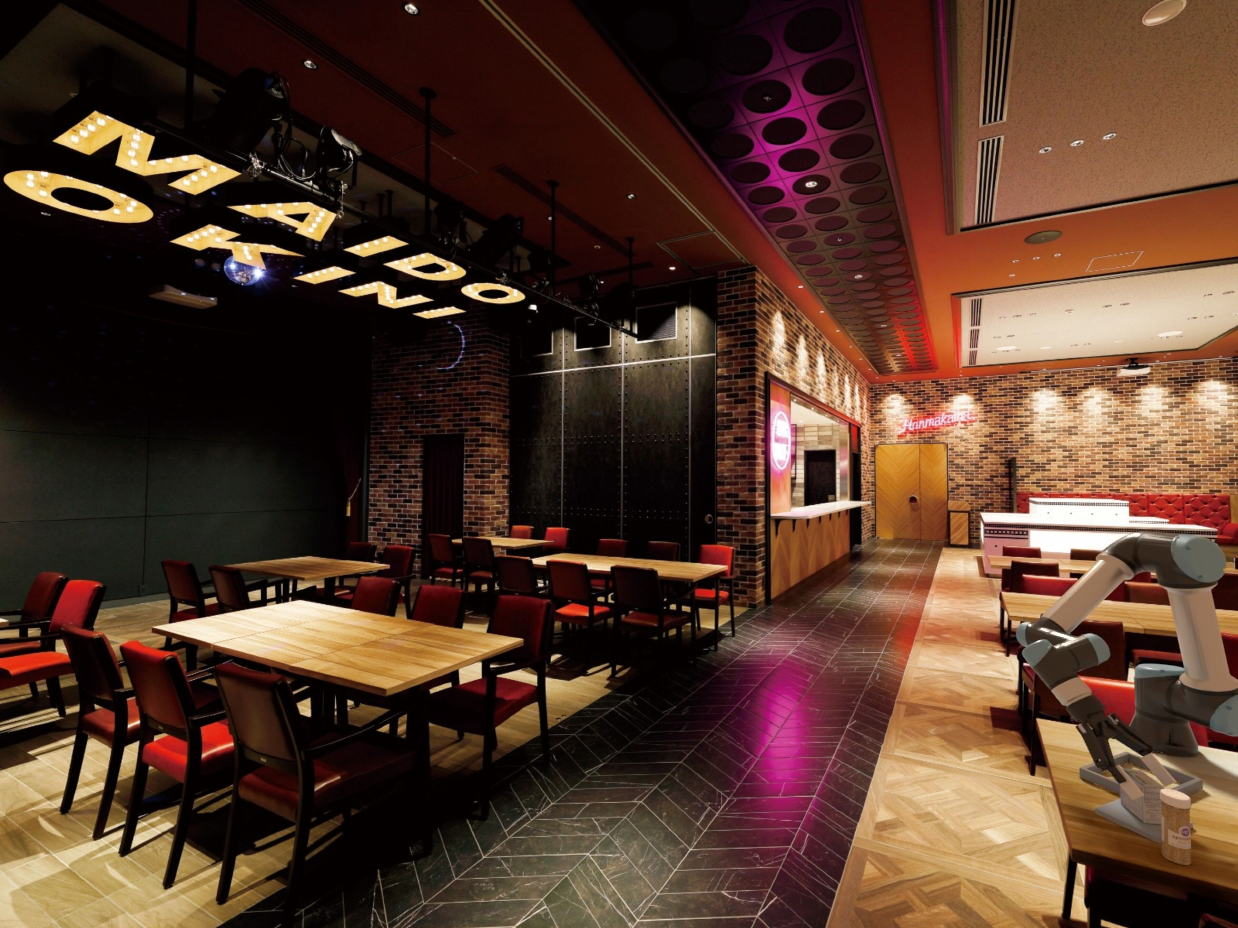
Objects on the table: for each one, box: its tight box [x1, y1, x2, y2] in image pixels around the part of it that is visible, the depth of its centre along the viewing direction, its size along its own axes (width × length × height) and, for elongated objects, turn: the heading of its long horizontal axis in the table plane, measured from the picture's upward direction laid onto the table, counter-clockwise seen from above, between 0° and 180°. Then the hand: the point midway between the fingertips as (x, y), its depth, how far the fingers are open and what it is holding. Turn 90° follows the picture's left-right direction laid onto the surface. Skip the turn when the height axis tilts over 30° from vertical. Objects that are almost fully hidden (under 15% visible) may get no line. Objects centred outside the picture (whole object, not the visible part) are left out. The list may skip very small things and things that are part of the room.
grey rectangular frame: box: [1078, 751, 1204, 797], centre depth 148 cm, size 22×16×2 cm
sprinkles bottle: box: [1160, 788, 1192, 866], centre depth 119 cm, size 5×5×14 cm
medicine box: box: [1119, 768, 1165, 825], centre depth 132 cm, size 8×4×9 cm, turn 169°
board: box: [1094, 798, 1194, 844], centre depth 132 cm, size 14×12×1 cm
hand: (1155, 790), depth 130 cm, fingers open, 13 cm apart
